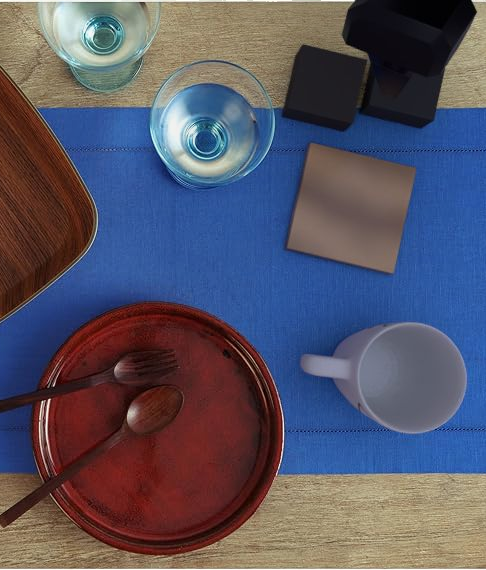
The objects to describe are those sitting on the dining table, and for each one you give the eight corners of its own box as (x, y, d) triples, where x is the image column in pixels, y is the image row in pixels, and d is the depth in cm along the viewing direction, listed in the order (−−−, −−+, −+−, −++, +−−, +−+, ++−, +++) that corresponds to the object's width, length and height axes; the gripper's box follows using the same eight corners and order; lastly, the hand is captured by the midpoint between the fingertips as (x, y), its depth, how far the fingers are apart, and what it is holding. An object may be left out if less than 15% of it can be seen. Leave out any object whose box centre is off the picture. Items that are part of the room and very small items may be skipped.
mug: (280, 404, 56) (311, 424, 46) (289, 312, 57) (322, 311, 47) (405, 418, 56) (463, 440, 46) (413, 325, 57) (472, 327, 47)
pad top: (295, 55, 58) (302, 43, 55) (357, 70, 58) (367, 59, 55) (281, 116, 57) (287, 107, 55) (343, 131, 57) (353, 123, 55)
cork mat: (307, 145, 57) (310, 141, 56) (412, 170, 57) (417, 167, 56) (284, 249, 57) (286, 248, 56) (389, 274, 57) (394, 274, 56)
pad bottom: (372, 52, 58) (383, 40, 55) (434, 67, 58) (448, 56, 55) (358, 113, 58) (368, 104, 55) (421, 129, 58) (434, 120, 55)
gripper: (615, -16, 26) (471, 194, 40) (742, -238, 32) (577, 14, 46) (369, -96, 29) (317, 123, 43) (524, -283, 35) (433, -36, 49)
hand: (417, 54), depth 45 cm, fingers open, 9 cm apart
